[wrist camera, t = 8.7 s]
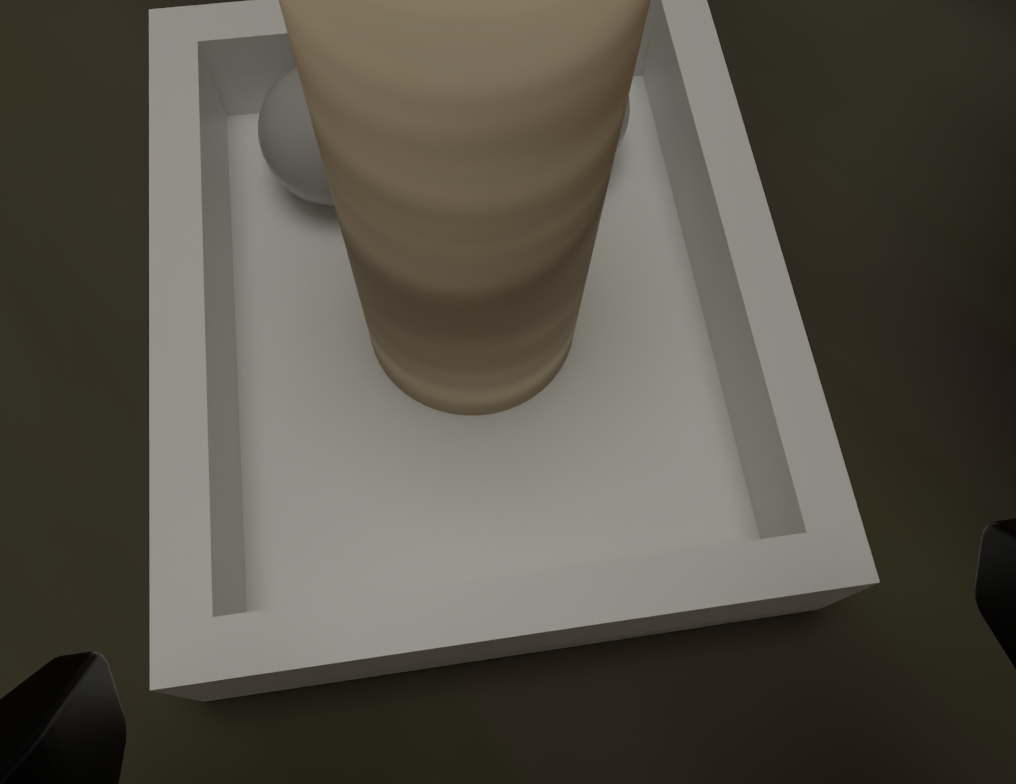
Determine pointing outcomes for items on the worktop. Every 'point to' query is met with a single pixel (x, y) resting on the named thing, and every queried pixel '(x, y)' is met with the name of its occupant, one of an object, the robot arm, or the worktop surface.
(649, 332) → the bin
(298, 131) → the pebble
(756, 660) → the worktop surface
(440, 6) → the pepper mill
